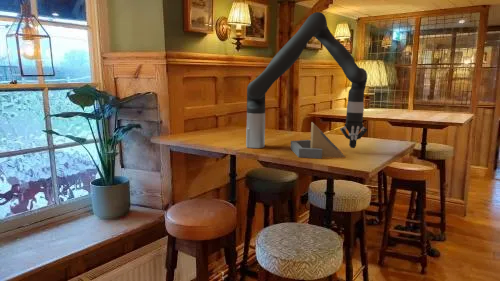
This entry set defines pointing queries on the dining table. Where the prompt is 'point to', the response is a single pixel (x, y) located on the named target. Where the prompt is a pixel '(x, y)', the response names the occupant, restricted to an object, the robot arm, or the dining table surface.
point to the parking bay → (305, 149)
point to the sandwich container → (323, 143)
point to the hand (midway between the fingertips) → (352, 147)
